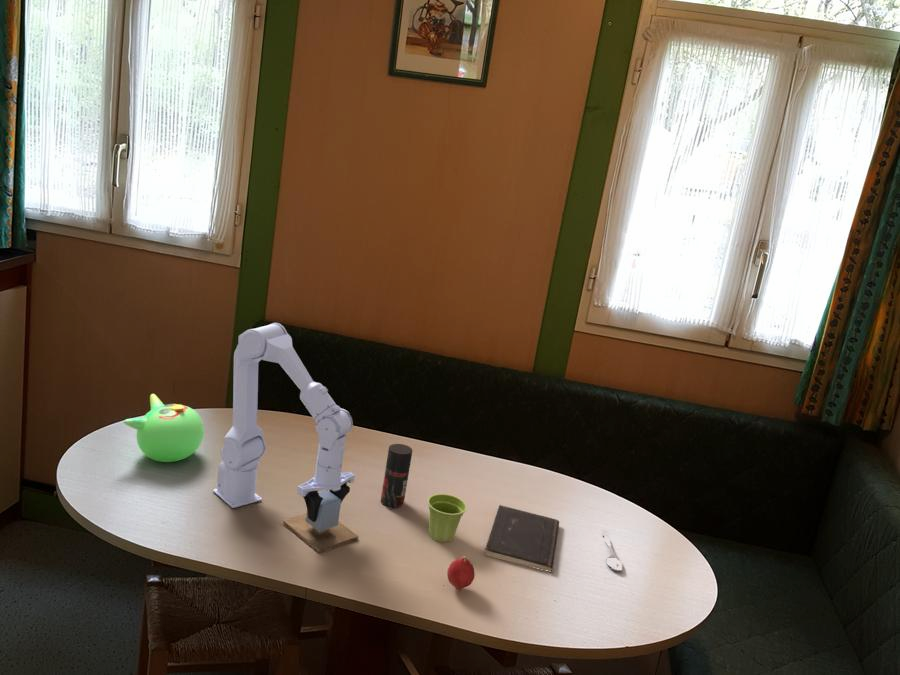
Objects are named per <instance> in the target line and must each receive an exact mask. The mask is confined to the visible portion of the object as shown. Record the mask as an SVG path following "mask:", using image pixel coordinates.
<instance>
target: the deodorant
mask: <svg viewBox="0 0 900 675" xmlns="http://www.w3.org/2000/svg"><path fill="white" fill-rule="evenodd" d="M412 456H413V448H412V447H411V446H409V445H406V444H403V443H393V444H390V445H389V446H388V452H387V457H386V465H385V470H384V475H383V476H384V477H383V483H382V487H381V488H382V489H381V490H382V491H381V496H380V503H381V505H382V506H383V507H386V508H388V509H401V508H402V507H403V506H404V503H405V497H406V492H407V485H408V479H409V474H410V469H411V468H410V467H411V462H412Z"/></svg>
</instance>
